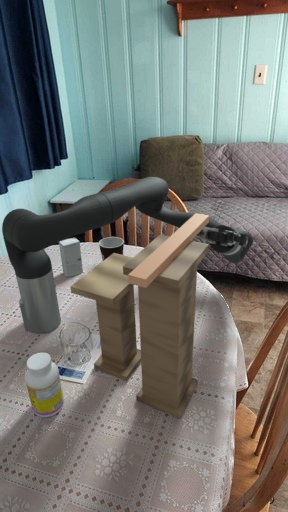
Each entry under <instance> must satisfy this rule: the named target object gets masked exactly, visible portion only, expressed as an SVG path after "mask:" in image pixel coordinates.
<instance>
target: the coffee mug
mask: <svg viewBox="0 0 288 512" xmlns="http://www.w3.org/2000/svg"><path fill="white" fill-rule="evenodd" d="M124 244H125V241H124V239H123V238H121V237H117V236H110V237H109V236H108V237H104V238H102V239H100V240H99V241H98V246H99V250H100V255H101V259H102V262H103V261H104V260H105V259H107V258H108V257H109V256H110V255H112V254H113V253H116V254H121V255H124V246H125V245H124Z"/></svg>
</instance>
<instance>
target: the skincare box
mask: <svg viewBox="0 0 288 512" xmlns="http://www.w3.org/2000/svg"><path fill="white" fill-rule="evenodd" d="M80 243H81V242H80V240H78V239H77V238H76V237H70V238H67V239H64V240H62V241H60V242H58V245H59V253H60V254H59V255H60V259H61V260H60V261H61V269H62V272H63V274H64V275H65V277H66V278H69V277H73V276H77V275H79V274H82V273H83V272H84V270H83V261H82V252H81V244H80Z"/></svg>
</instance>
